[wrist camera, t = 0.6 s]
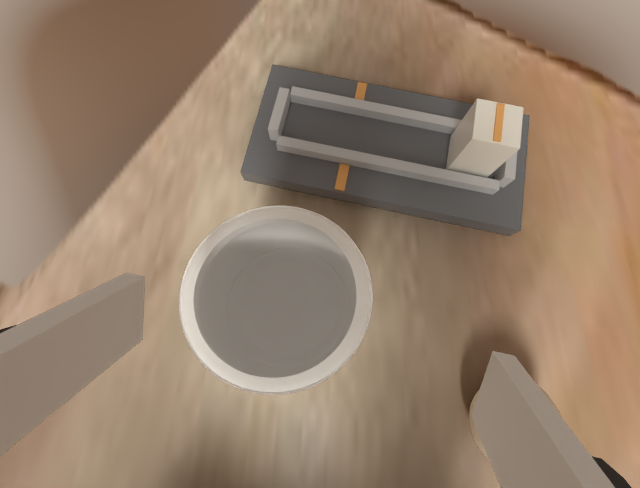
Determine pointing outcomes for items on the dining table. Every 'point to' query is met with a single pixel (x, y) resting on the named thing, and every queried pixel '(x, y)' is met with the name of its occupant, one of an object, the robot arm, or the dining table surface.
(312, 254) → the jar
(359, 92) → the marker
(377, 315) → the dining table surface
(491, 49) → the dining table surface
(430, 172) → the slider track
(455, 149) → the block
